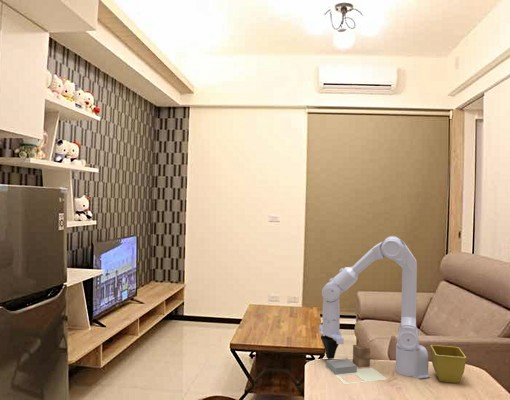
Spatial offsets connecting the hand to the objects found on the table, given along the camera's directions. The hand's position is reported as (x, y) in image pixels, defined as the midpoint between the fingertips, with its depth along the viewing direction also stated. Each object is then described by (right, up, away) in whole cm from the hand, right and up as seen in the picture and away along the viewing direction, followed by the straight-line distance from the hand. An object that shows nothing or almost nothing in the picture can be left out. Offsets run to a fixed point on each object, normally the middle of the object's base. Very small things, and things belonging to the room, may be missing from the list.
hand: (330, 358), depth 144 cm
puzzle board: (+6, -2, -10) cm, 12 cm away
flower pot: (+34, -3, -11) cm, 36 cm away
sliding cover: (+2, -1, -8) cm, 8 cm away
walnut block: (+10, -1, -4) cm, 10 cm away
